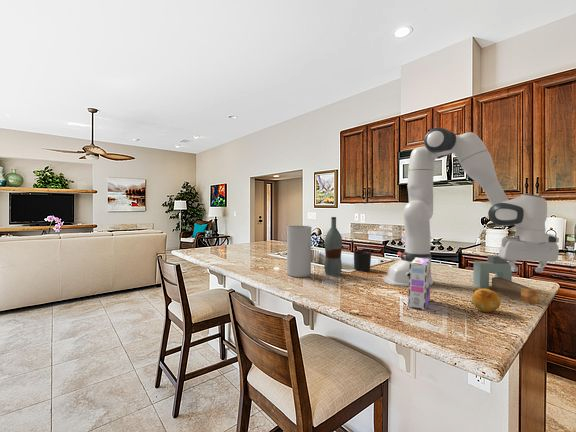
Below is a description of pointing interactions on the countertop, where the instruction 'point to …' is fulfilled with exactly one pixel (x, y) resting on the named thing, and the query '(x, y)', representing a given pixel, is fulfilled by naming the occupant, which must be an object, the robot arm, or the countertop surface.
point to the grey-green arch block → (490, 270)
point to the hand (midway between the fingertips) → (526, 271)
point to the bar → (515, 290)
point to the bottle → (333, 250)
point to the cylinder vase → (299, 251)
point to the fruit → (486, 300)
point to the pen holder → (362, 260)
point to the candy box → (419, 283)
